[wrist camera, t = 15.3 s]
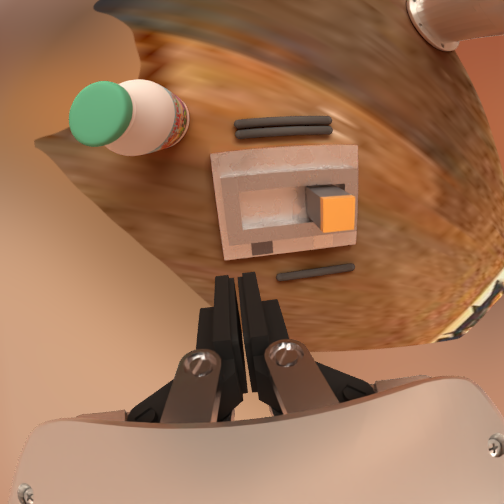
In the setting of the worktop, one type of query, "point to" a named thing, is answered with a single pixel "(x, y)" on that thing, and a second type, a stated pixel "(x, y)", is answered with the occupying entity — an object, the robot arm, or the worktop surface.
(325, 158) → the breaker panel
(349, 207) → the block
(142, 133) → the milk bottle
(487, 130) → the worktop surface
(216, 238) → the worktop surface
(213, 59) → the worktop surface
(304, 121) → the cord
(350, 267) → the cord
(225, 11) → the worktop surface
